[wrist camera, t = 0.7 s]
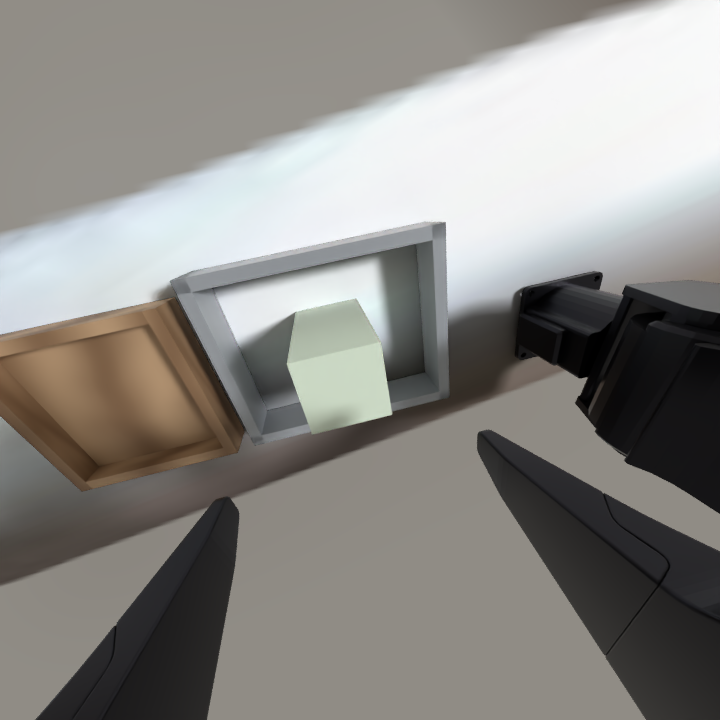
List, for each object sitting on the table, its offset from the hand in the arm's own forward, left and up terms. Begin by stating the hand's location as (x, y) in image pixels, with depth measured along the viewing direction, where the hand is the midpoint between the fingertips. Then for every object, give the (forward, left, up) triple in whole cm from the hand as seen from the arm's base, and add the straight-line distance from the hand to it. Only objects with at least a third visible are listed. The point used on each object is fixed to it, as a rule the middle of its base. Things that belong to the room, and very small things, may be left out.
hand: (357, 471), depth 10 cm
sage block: (0, 0, -13) cm, 13 cm away
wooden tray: (+15, +1, -13) cm, 20 cm away
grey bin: (0, 0, -13) cm, 13 cm away
